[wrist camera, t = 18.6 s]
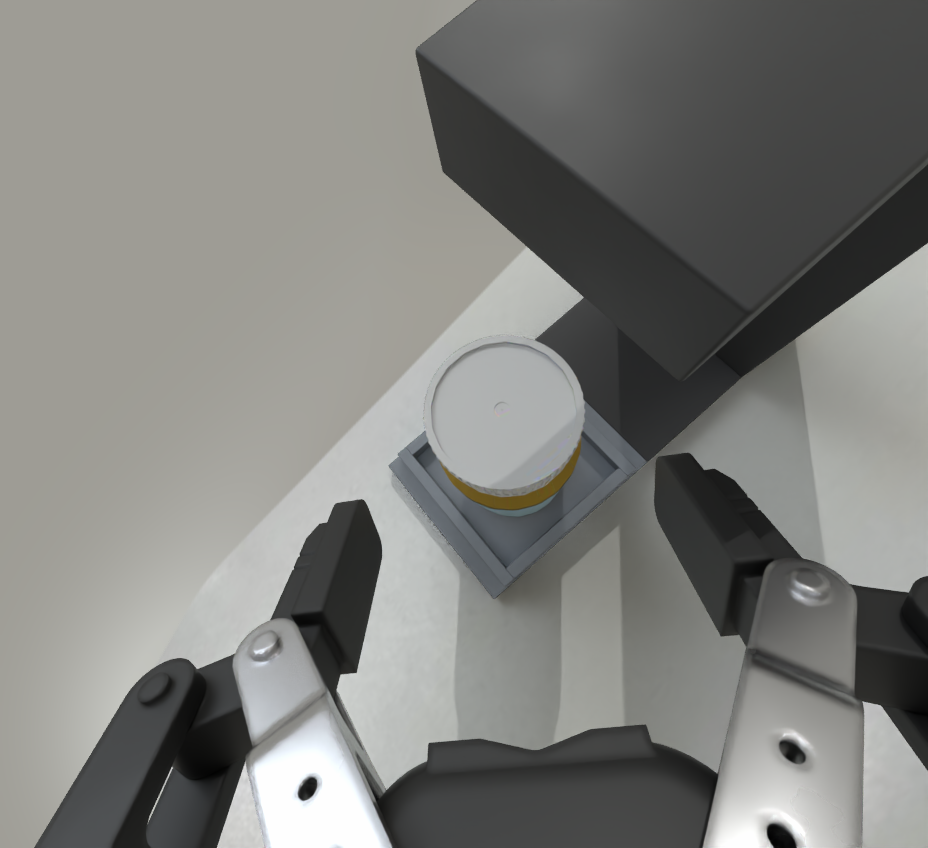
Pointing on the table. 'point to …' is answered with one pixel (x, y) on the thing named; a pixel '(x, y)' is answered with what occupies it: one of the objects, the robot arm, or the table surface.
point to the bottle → (505, 422)
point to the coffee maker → (673, 203)
